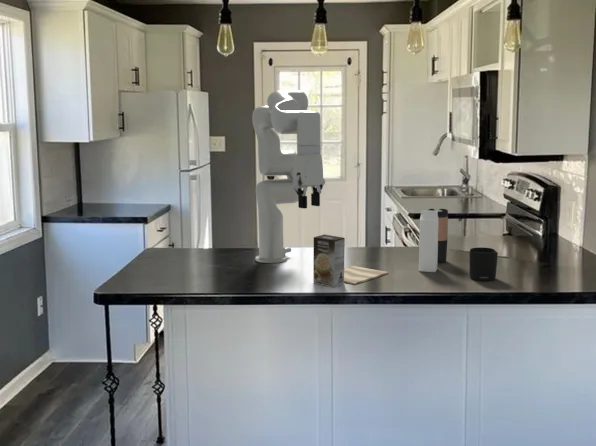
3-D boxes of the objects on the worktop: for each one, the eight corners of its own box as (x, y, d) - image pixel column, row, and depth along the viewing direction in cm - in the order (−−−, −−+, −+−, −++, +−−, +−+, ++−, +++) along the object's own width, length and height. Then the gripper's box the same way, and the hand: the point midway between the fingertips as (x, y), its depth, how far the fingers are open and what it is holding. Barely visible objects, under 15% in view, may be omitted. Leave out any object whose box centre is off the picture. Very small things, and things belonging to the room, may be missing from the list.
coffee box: (312, 283, 233) (312, 236, 230) (323, 279, 238) (323, 234, 235) (334, 287, 227) (334, 239, 225) (345, 283, 232) (345, 237, 229)
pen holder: (463, 278, 237) (464, 250, 236) (477, 273, 244) (478, 246, 242) (488, 283, 231) (489, 254, 229) (501, 278, 237) (502, 249, 236)
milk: (421, 267, 254) (421, 209, 251) (437, 268, 252) (438, 209, 249) (418, 271, 248) (419, 211, 245) (435, 272, 246) (436, 211, 243)
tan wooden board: (352, 267, 256) (352, 265, 255) (388, 273, 245) (388, 272, 245) (318, 277, 241) (318, 275, 241) (354, 284, 230) (354, 283, 230)
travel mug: (438, 264, 259) (440, 211, 256) (422, 261, 265) (423, 209, 262) (450, 261, 264) (452, 209, 261) (434, 258, 270) (436, 207, 267)
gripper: (316, 148, 226) (317, 203, 229) (281, 151, 214) (282, 209, 217) (334, 149, 222) (334, 205, 225) (300, 152, 209) (300, 211, 212)
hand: (309, 206), depth 221 cm, fingers open, 5 cm apart
